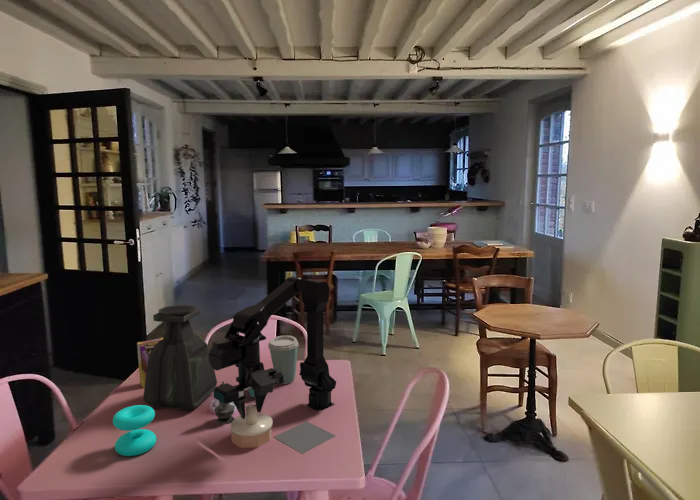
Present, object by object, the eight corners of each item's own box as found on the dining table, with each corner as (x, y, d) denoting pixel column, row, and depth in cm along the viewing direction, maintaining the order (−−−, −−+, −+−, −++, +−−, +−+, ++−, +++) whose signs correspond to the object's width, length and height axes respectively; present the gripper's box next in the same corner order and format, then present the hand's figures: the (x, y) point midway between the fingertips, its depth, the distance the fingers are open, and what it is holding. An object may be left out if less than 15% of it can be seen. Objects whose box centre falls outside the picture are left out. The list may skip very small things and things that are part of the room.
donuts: (139, 400, 131) (162, 408, 126) (141, 434, 132) (164, 444, 127) (104, 414, 122) (127, 424, 117) (107, 451, 124) (130, 462, 118)
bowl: (256, 426, 136) (256, 413, 135) (278, 439, 129) (277, 425, 128) (225, 440, 129) (224, 426, 128) (247, 454, 122) (246, 439, 121)
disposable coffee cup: (297, 387, 163) (296, 344, 161) (266, 387, 163) (264, 344, 161) (301, 374, 173) (300, 334, 171) (271, 375, 173) (270, 334, 171)
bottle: (219, 391, 160) (215, 303, 156) (195, 414, 144) (190, 316, 140) (170, 388, 163) (165, 301, 159) (141, 409, 147) (134, 314, 143)
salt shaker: (229, 426, 136) (228, 385, 135) (210, 424, 137) (208, 384, 136) (238, 416, 142) (237, 377, 140) (220, 414, 143) (218, 376, 142)
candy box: (165, 378, 171) (163, 336, 170) (169, 381, 168) (166, 339, 166) (139, 384, 166) (136, 341, 164) (142, 388, 163) (139, 345, 161)
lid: (256, 412, 136) (256, 394, 135) (280, 425, 128) (280, 406, 128) (222, 426, 128) (221, 407, 127) (246, 440, 120) (245, 420, 120)
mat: (306, 423, 137) (306, 421, 137) (336, 437, 129) (336, 435, 129) (273, 439, 129) (273, 437, 129) (302, 455, 121) (302, 453, 120)
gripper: (235, 377, 114) (238, 439, 116) (296, 357, 127) (297, 412, 129) (211, 365, 121) (213, 424, 123) (270, 347, 135) (272, 400, 137)
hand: (251, 415), depth 128 cm, fingers open, 5 cm apart
